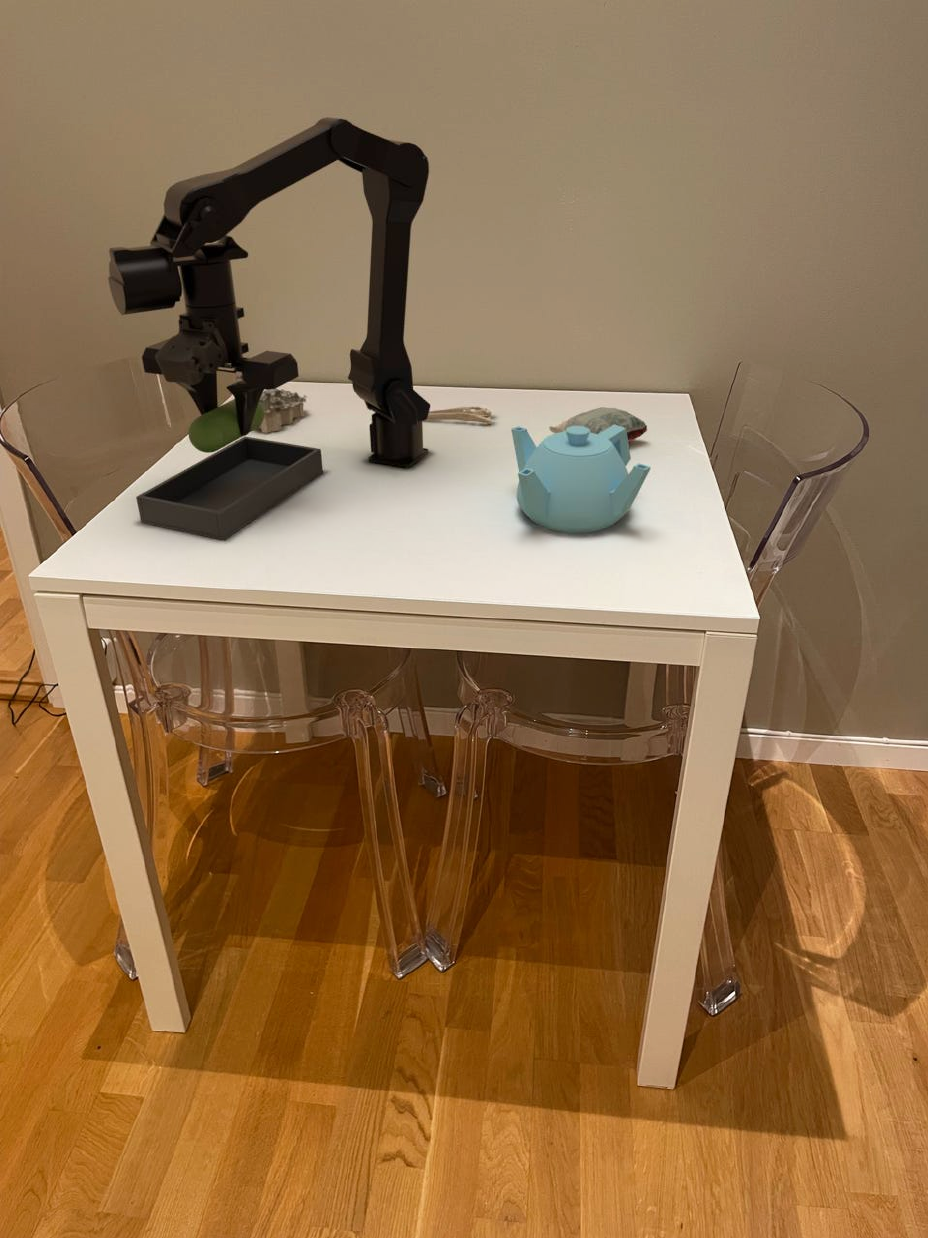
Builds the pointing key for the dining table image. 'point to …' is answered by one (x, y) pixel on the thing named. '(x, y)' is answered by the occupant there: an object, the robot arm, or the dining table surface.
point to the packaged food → (605, 422)
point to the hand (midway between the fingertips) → (229, 432)
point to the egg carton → (280, 408)
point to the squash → (220, 427)
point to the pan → (230, 487)
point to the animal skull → (461, 414)
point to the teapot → (576, 478)
